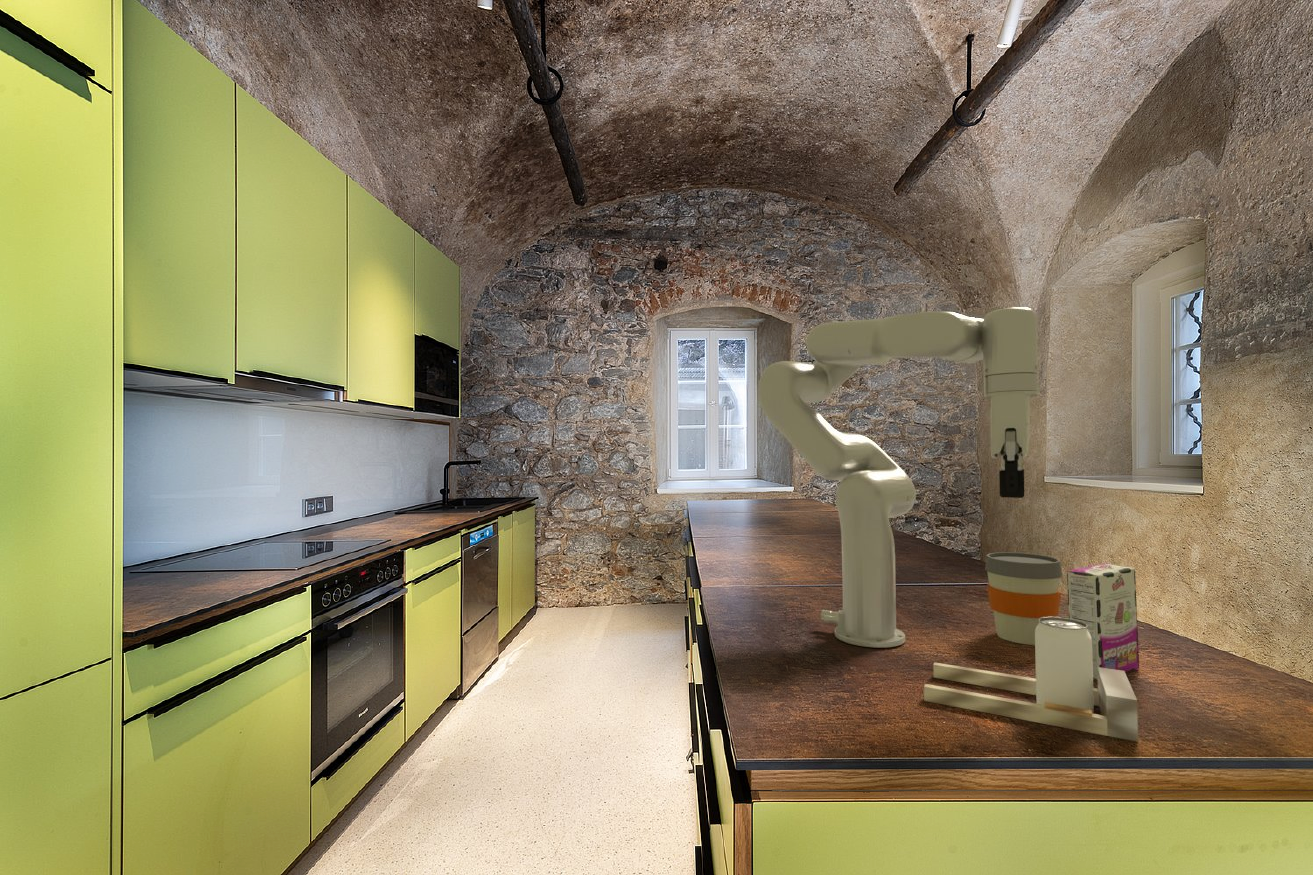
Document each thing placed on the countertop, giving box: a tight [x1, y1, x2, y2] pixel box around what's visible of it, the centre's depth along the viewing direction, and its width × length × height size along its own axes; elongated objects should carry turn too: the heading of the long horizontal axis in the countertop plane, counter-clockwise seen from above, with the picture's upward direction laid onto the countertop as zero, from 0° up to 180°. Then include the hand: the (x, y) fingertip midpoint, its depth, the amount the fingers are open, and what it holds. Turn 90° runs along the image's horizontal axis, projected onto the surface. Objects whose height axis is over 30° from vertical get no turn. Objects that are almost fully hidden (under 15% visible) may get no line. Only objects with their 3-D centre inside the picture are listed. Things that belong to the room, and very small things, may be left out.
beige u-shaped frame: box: [923, 662, 1139, 742], centre depth 85 cm, size 24×11×5 cm, turn 59°
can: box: [1034, 616, 1095, 714], centre depth 83 cm, size 6×6×12 cm
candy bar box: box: [1066, 563, 1141, 681], centre depth 98 cm, size 11×5×16 cm, turn 117°
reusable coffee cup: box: [984, 551, 1063, 646], centre depth 115 cm, size 12×13×15 cm
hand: (1012, 495), depth 96 cm, fingers open, 9 cm apart
